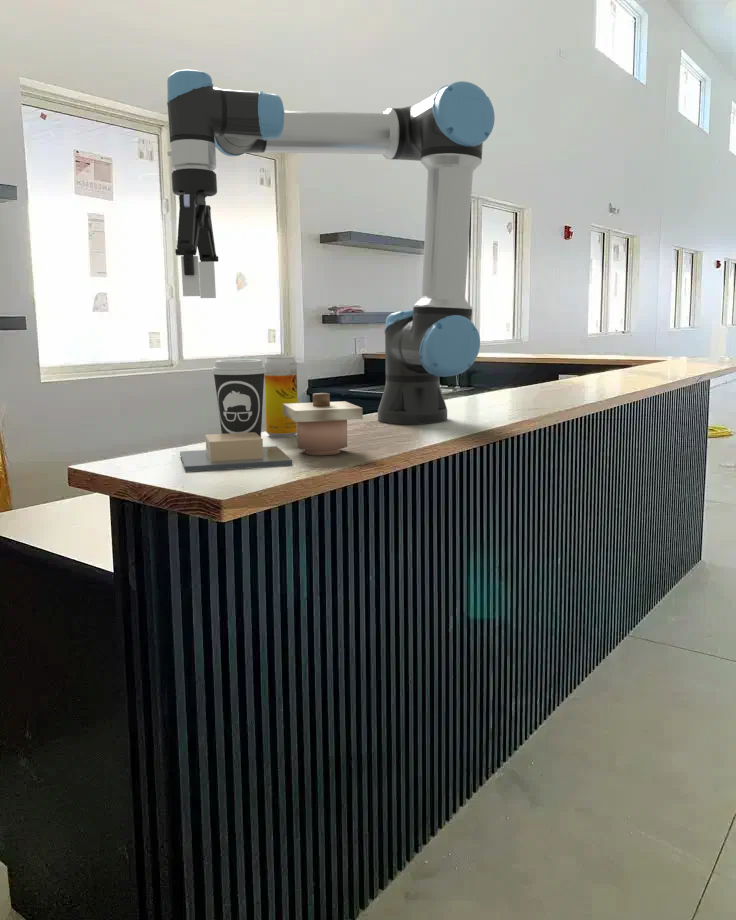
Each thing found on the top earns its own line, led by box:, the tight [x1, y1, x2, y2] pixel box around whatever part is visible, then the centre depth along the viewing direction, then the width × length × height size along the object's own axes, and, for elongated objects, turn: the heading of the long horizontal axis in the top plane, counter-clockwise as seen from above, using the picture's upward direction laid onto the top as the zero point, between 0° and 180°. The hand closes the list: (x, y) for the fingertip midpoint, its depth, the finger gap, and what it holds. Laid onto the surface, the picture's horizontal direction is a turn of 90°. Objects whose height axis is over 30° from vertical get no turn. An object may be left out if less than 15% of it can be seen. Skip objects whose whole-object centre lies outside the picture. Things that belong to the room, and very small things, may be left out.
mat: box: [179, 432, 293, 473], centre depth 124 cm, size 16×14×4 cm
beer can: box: [263, 355, 299, 439], centre depth 149 cm, size 6×6×15 cm
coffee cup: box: [210, 358, 267, 438], centre depth 137 cm, size 10×10×15 cm
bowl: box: [296, 420, 348, 456], centre depth 131 cm, size 8×8×6 cm
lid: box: [283, 392, 364, 422], centre depth 130 cm, size 11×11×4 cm
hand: (200, 297), depth 138 cm, fingers open, 13 cm apart
